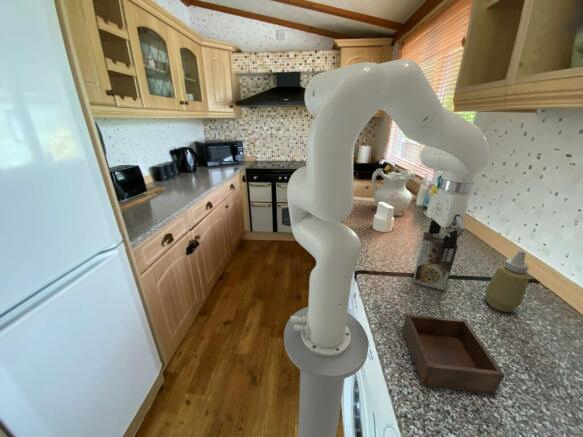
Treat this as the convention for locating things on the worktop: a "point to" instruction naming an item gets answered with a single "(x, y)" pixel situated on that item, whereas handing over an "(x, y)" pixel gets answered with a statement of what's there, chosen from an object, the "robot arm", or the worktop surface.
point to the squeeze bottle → (508, 284)
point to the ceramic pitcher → (393, 189)
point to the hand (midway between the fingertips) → (440, 240)
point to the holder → (450, 355)
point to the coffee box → (434, 262)
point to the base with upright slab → (383, 217)
